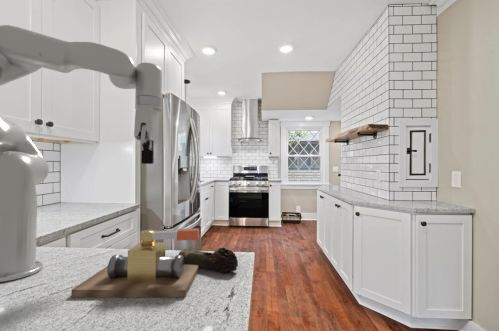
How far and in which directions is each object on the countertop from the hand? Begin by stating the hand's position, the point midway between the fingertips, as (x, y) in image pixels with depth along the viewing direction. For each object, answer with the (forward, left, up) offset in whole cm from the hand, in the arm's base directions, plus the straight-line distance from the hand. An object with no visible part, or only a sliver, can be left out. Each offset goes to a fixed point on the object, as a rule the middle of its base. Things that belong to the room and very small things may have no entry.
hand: (147, 163), depth 79 cm
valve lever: (+12, -16, -20) cm, 29 cm away
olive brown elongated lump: (+21, -7, -30) cm, 37 cm away
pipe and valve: (+7, -17, -28) cm, 33 cm away
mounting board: (+6, -17, -29) cm, 34 cm away
